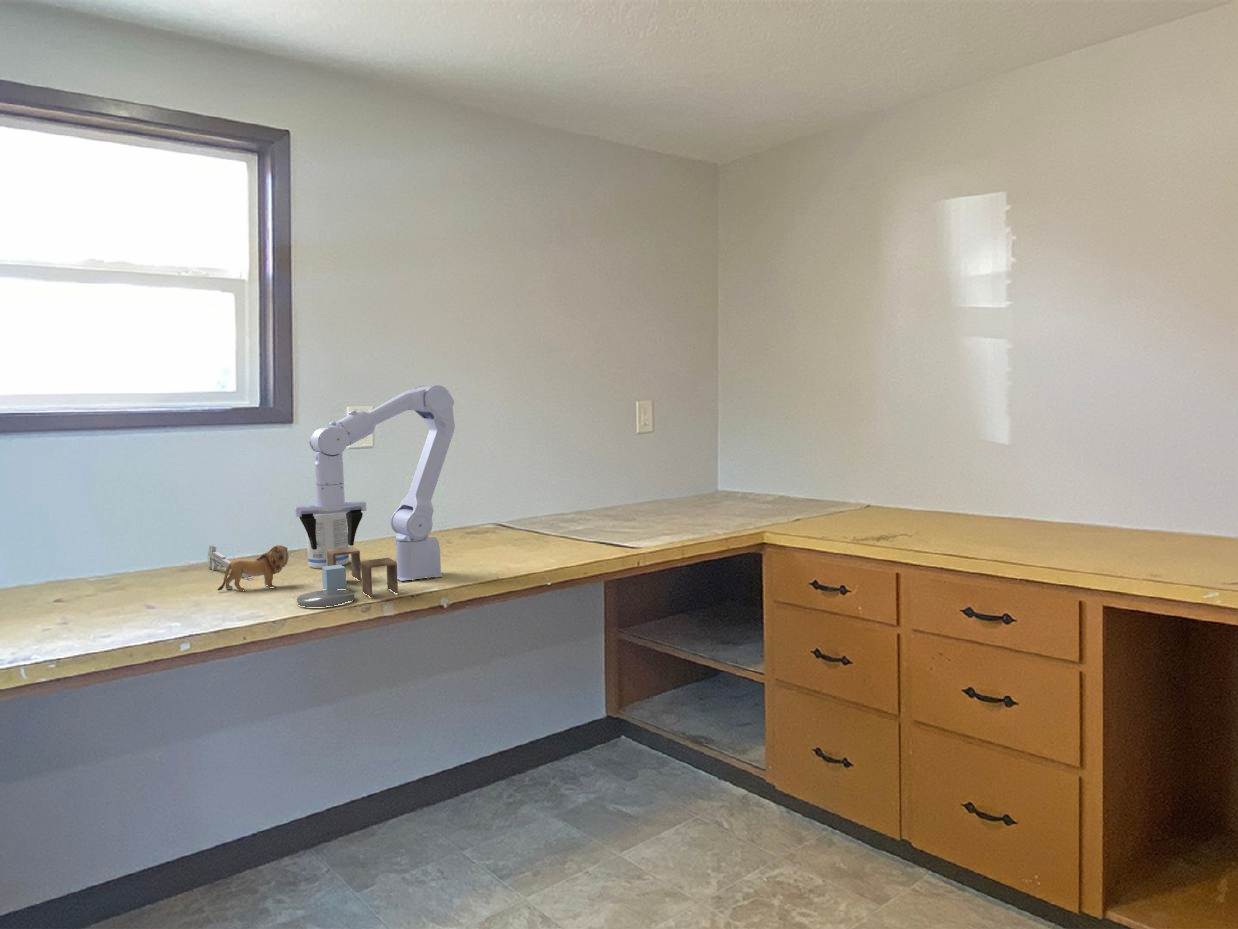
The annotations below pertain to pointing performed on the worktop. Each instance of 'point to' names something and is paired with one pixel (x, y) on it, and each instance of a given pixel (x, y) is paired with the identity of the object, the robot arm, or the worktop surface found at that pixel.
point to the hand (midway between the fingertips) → (332, 547)
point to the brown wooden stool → (367, 574)
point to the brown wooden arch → (354, 559)
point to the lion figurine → (257, 567)
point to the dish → (325, 598)
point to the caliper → (219, 561)
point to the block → (334, 577)
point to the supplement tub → (328, 539)
